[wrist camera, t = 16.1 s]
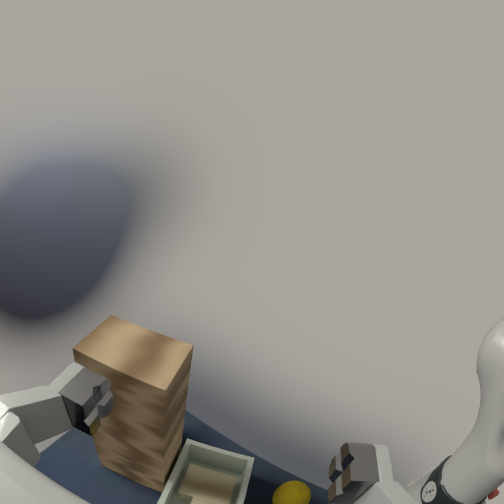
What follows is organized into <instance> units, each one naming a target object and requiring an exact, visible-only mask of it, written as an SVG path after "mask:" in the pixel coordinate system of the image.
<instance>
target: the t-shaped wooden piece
mask: <svg viewBox="0 0 504 504" xmlns="http://www.w3.org/2000/svg"><path fill="white" fill-rule="evenodd" d="M236 479H237V477H235V476H231V475H228V474H224V473H220V472H217V471H213V470H210V469H207V468H203V467H200V466H197V465H194V464H191V463H190V465H189V468H188V470H187V472H186V475H185V477H184V480H183V482H182V484H181V487H180V489H179V491H178V498H181V499H184V500H187V501H190V502H191V504H230V500H231V497H232V493H233V489H234V486H235V482H236Z"/></svg>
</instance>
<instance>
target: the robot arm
mask: <svg viewBox="0 0 504 504" xmlns="http://www.w3.org/2000/svg"><path fill="white" fill-rule="evenodd" d="M477 374H478V378H479V382H480V390H481V400H480V408H479V413H478V417H477V420H476V423H475V425H474V427H473V429H472V431H471V432H470V434H469V435H468V436H467V438H466V439H465V440H464V442H463V443H462V444H461V446H460V447H459V448H458V449H457V450H456V451H455V452H454V454H453V455H451V456H449V457H447V458H446V459H445V460H444V461H442V462H441V463H440V464H439V465H438V466H437V467H436V466H435V467H433V468H432V469H430V470H429V471H428V472H427V473H425V474H424V475H423V476H422V477H420V478H419V479H412V480H411V481H410V482H409V483H408V484H407V486H406V488H405V489H404V488H403V487H402V486H401V485H400V484H399V483H398V482H394V479H393V473H392V467H391V461H390V456H389V450H388V447H387V446H386V445H372V444H360V443H359V444H358V443H345V444H343V446H342V447H341V453H339V454H337V455H335V457H334V458H333V459H332V462H331V464H330V468H329V479H330V480H331V481H332V483H333V484H332V485H331V486H330V487H329V493H328V503H333V504H485V499H486V498H487V496H488V499H492V498H494V497H496V496H497V495H498V494H499V491H498V490H497V487H498V486H500V485H501V484H502V483H503V482H504V318H503V319H501V320H500V321H499V322H497V323H496V324H495V325H494V326H493V327H492V328H491V329H490V330H489V331H488V333H487V334H486V336H485V337H484V339H483V341H482V344H481V346H480V348H479V352H478V357H477ZM111 387H112V386H111V381H110V380H109V379H107V378H105V377H103V376H101V375H99V374H97V373H95V372H93V371H91V370H89V369H87V368H86V367H84V366H82V365H80V364H78V363H76V362H75V363H72V364H70V365H69V366H68V367H67V368H66V369H65V370H64V371H63V372H62V373H61V374H60V375H59V376H58V377H57V378H56V379H55V380H54V381H53V382H52V383H51V384H50V385H49V386H46V385H43V386H39V387H35V388H31V389H27V390H23V391H18V392H14V393H9V394H4V395H0V504H90V503H89V502H87V501H85V500H83V499H82V498H80V497H78V496H76V495H75V494H73V493H71V492H70V491H68V490H66V489H65V488H63V487H62V486H60V485H58V484H57V483H55V482H54V481H52V480H51V479H49V478H48V477H46V476H45V475H44V474H42V473H41V472H39V471H38V470H37V469H35V468H34V466H35V465H36V463H37V462H38V461H39V459H40V458H41V457H40V453H39V452H38V450H37V448H36V447H35V445H34V444H36V443H39V442H41V441H44V440H46V439H49V438H51V437H54V436H56V435H58V434H61V433H63V432H65V431H68V430H70V429H72V428H73V427H74V428H76V429H78V430H80V431H82V432H84V433H85V434H87V435H89V436H91V437H93V435H94V434H95V432H96V431H97V430H98V428H99V427H100V426H101V422H100V419H102V418H105V417H107V416H108V414H109V413H110V411H111V409H112V406H113V400H114V399H113V394H112V393H111V391H110V390H109V389H110V388H111Z"/></svg>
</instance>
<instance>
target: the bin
mask: <svg viewBox="0 0 504 504" xmlns="http://www.w3.org/2000/svg"><path fill="white" fill-rule="evenodd" d="M253 462H254V458H253V457H249V456H245V455H241V454H237V453H233V452H230V451H226V450H223V449H219V448H216V447H212V446H209V445H206V444H203V443H200V442H197V441H194V440H191V439H188V438H187V440H186V442H185V445H184V447H183V449H182V451H181V453H180V456H179V458H178V460H177V462H176V464H175V466H174V469H173V471H172V473H171V475H170V477H169V479H168V482H167V484H166V486H165V488H164V490H163V492H162V494H161V497H160V499H159V501H158V503H157V504H191V502H190V501H187V500H184V499H181V498H178V491H179V489H180V487H181V484H182V482H183V480H184V477H185V475H186V472H187V470H188V468H189V465H190V463H191V464H194V465H197V466H200V467H203V468H207V469H210V470H213V471H217V472H220V473H224V474H228V475H231V476H235V477H237V479H236V482H235V486H234V489H233V493H232V497H231V500H230V504H243V503H244V499H245V495H246V491H247V487H248V483H249V479H250V475H251V470H252V466H253Z"/></svg>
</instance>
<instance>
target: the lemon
mask: <svg viewBox="0 0 504 504" xmlns="http://www.w3.org/2000/svg"><path fill="white" fill-rule="evenodd" d="M310 497H311V492H310V489H309V488H308V486H307V485H306V484H304V483H302V482H300V481H289V482H286V483H284V484H282V485H281V486H279V487H278V488H277V489H276V491H275V492H274V494H273V497H272V503H273V504H308V503H309V500H310Z"/></svg>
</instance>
